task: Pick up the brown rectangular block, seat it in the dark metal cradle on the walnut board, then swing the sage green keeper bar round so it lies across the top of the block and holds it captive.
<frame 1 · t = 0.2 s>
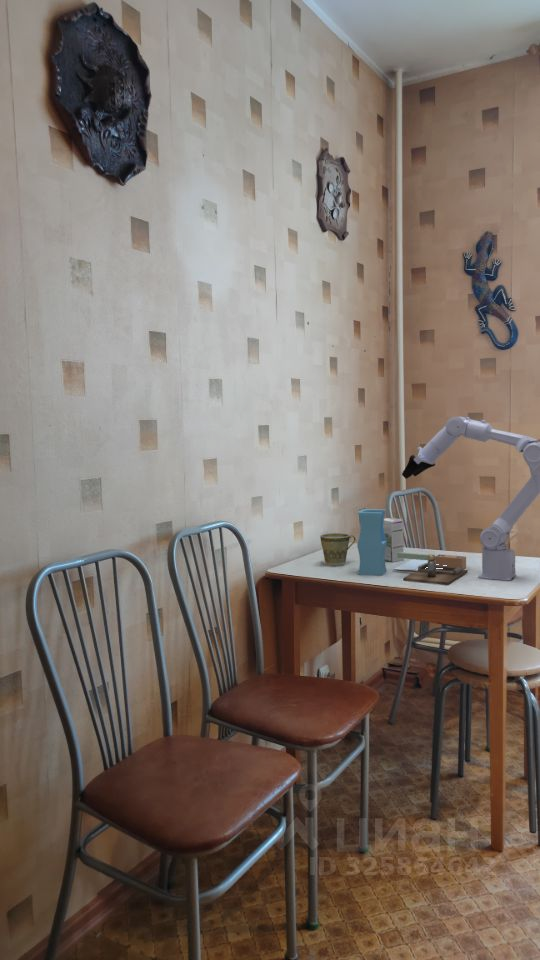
hand: (408, 475, 230), 31 cm above the table, tool tilted 45°, fingers open, 7 cm apart
vase: (372, 573, 229), on the table
ceramic cup: (339, 564, 244), on the table
keeper board: (436, 576, 220), on the table
syrup box: (392, 560, 247), on the table
keeper bar: (416, 556, 219), point 7 cm above the table, hinge at 90.0°
brown rectangular block: (450, 568, 232), on the table
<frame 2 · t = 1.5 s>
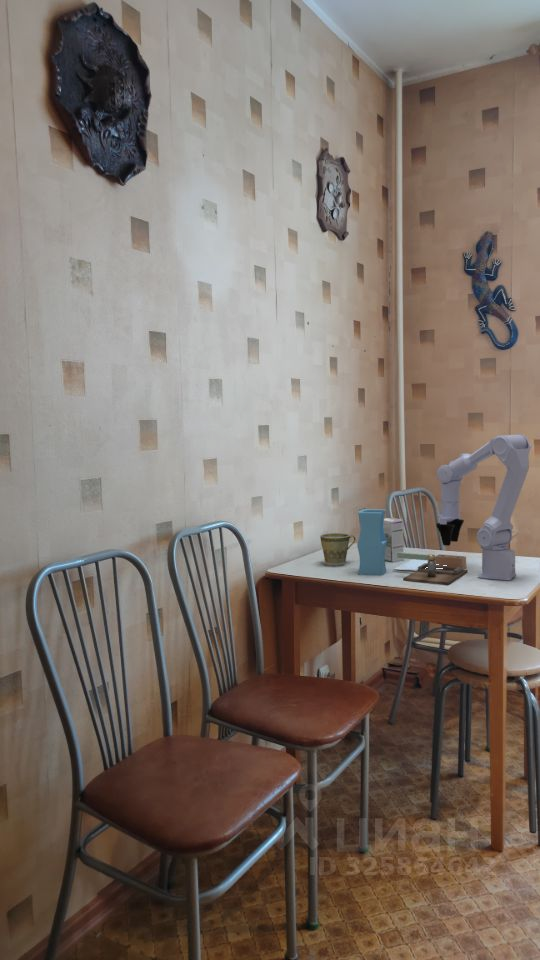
hand: (450, 543, 231), 8 cm above the table, tool pointing down, fingers open, 7 cm apart
nothing on the table moved.
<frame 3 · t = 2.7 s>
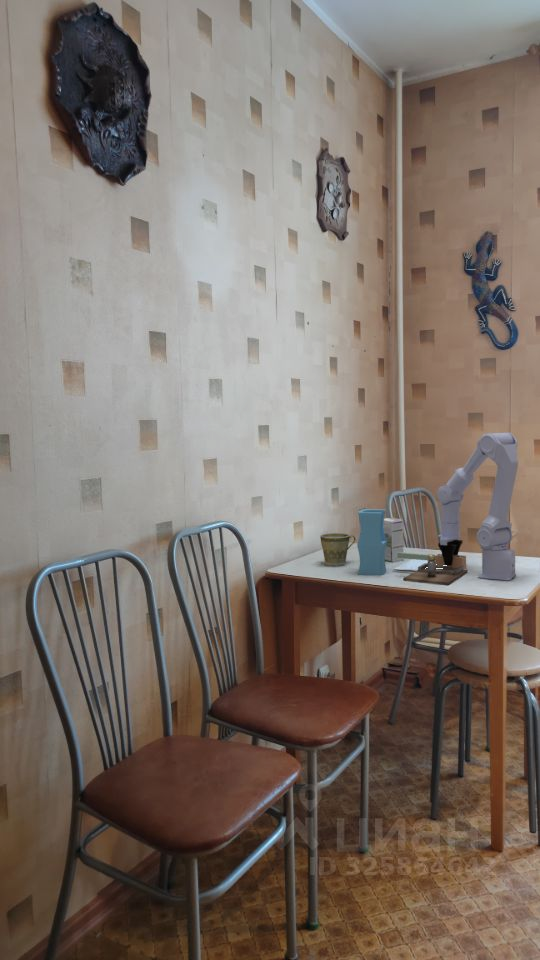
hand: (450, 563, 232), 1 cm above the table, tool pointing down, fingers closed on brown rectangular block, 4 cm apart
brown rectangular block: (450, 567, 232), on the table, touching gripper
everything else where it was.
when the fingers open (4 cm above the table, at t = 7.1 s): brown rectangular block drops 1 cm, resting on keeper board.
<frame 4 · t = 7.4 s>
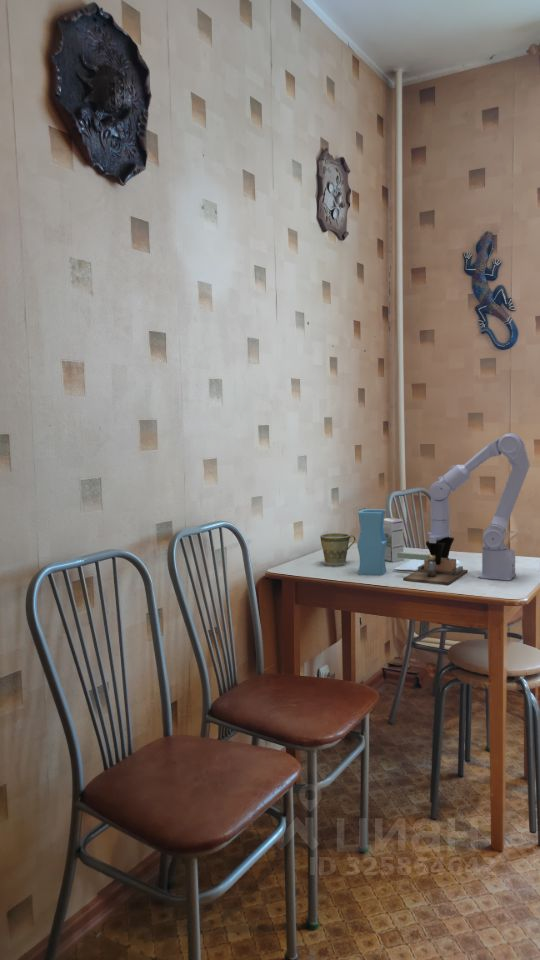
hand: (440, 562, 223), 4 cm above the table, tool pointing down, fingers open, 6 cm apart
brown rectangular block: (440, 571, 224), point 1 cm above the table, touching keeper board
everything else where it was.
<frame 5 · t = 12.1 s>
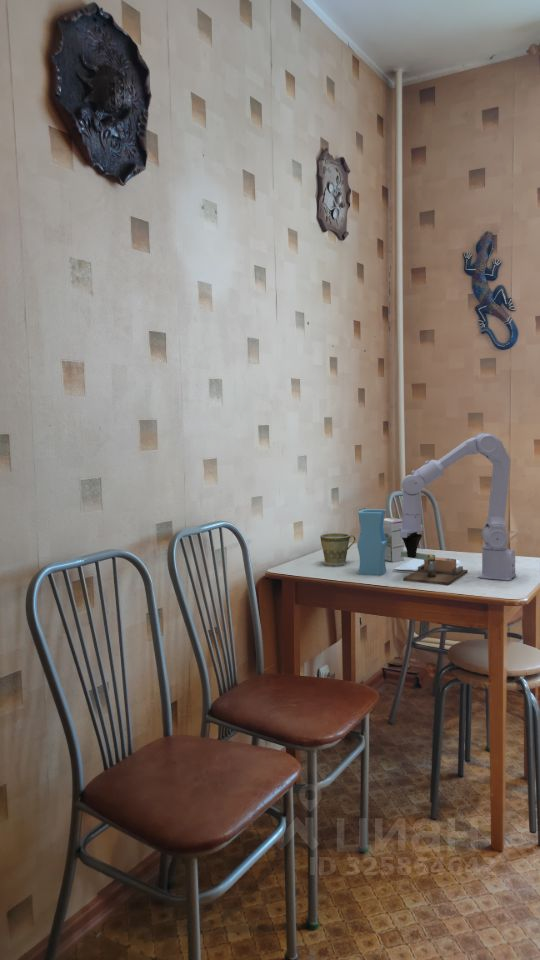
hand: (411, 557, 220), 6 cm above the table, tool pointing down, fingers closed, pressing on keeper bar
keeper bar: (417, 555, 220), point 7 cm above the table, hinge at 76.8°, touching gripper
everything else where it was.
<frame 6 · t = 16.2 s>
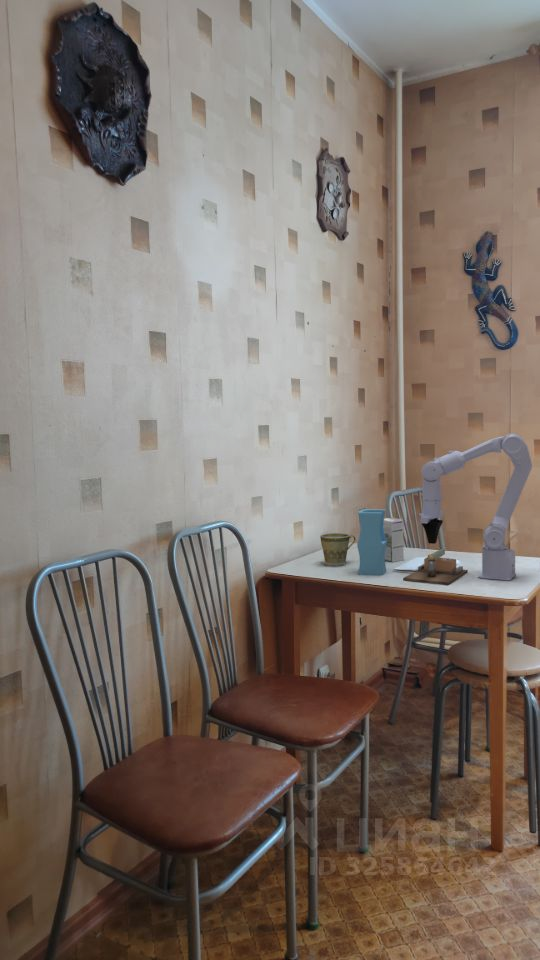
hand: (432, 543, 223), 10 cm above the table, tool pointing down, fingers closed
keeper bar: (436, 555, 221), point 7 cm above the table, hinge at 0.3°
everything else where it was.
at the end: brown rectangular block 0.0 cm from the target spot on the keeper board, point 0.8 cm above the keeper board's base; brown rectangular block tilted 0°; keeper bar at +0° (first picture: +90°) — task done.
